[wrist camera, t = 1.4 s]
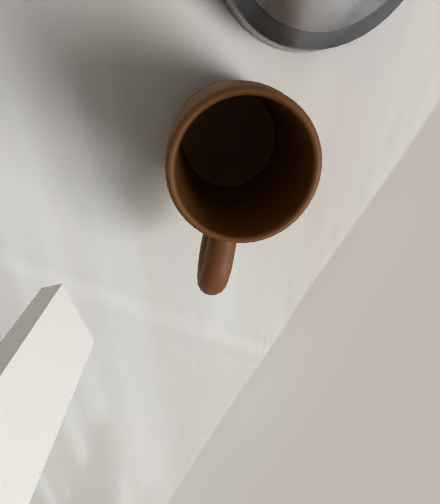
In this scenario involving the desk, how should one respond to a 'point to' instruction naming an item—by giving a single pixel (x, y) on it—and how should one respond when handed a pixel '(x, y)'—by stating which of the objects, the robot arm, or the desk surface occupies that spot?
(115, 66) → the desk surface
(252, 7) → the grey metal dish
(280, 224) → the mug
